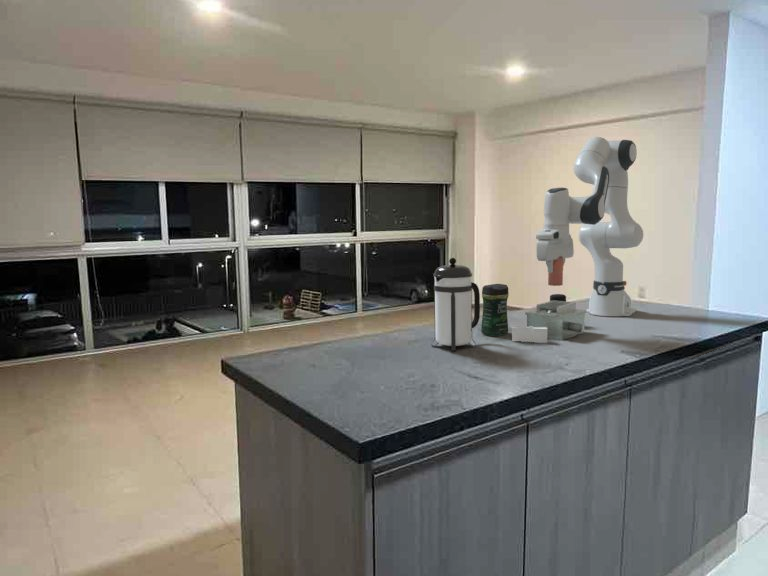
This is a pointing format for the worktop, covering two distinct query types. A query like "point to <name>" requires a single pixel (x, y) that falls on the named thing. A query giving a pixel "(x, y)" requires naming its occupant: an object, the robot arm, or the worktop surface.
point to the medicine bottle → (558, 297)
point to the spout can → (556, 273)
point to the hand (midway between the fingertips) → (555, 271)
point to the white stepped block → (529, 334)
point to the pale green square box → (557, 319)
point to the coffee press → (454, 305)
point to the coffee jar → (494, 310)
